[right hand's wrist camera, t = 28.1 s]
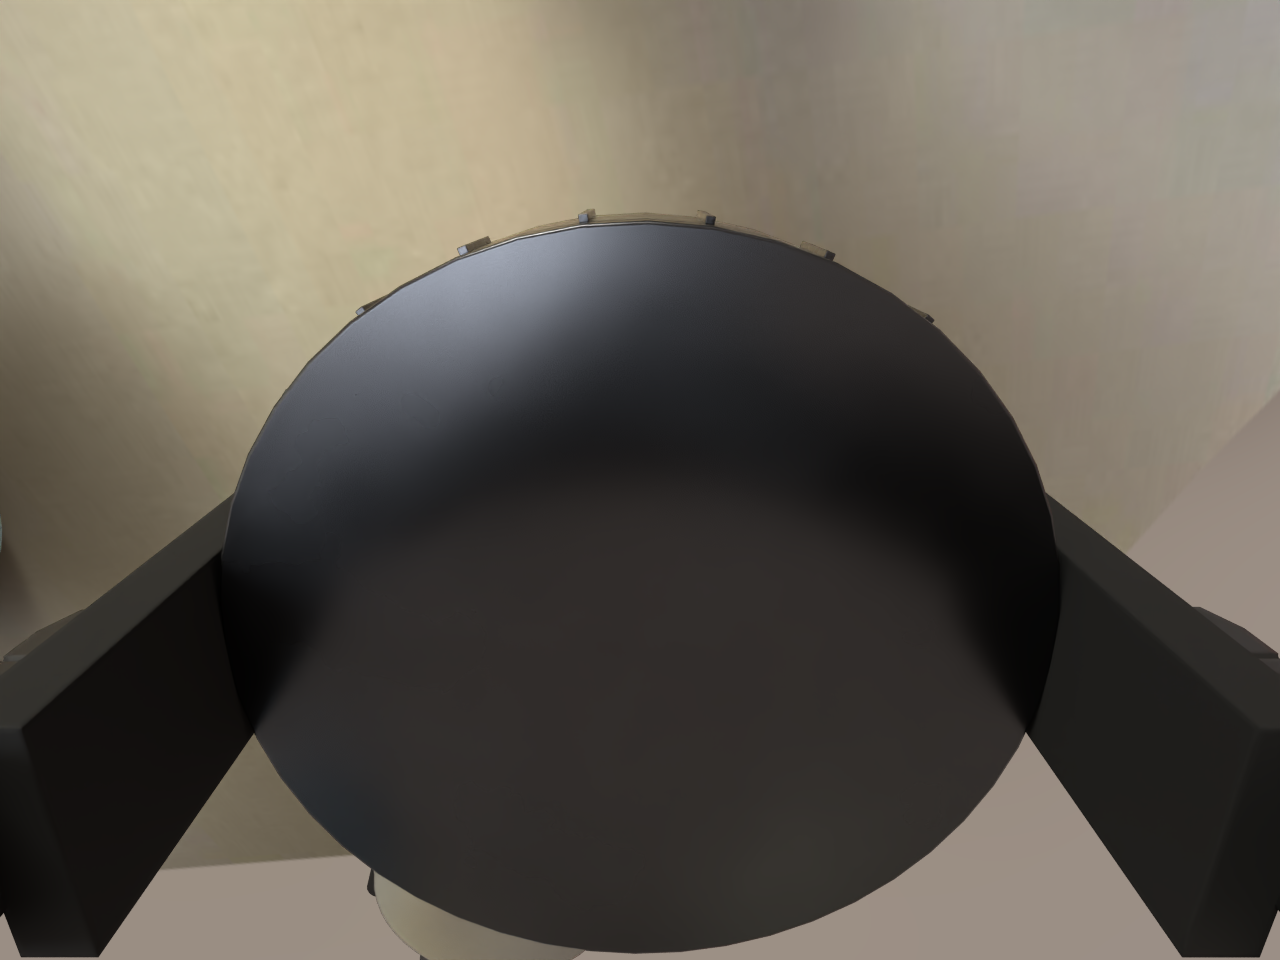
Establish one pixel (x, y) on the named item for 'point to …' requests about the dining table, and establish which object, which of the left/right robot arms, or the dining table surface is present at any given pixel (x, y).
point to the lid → (640, 585)
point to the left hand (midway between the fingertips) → (545, 630)
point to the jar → (453, 931)
